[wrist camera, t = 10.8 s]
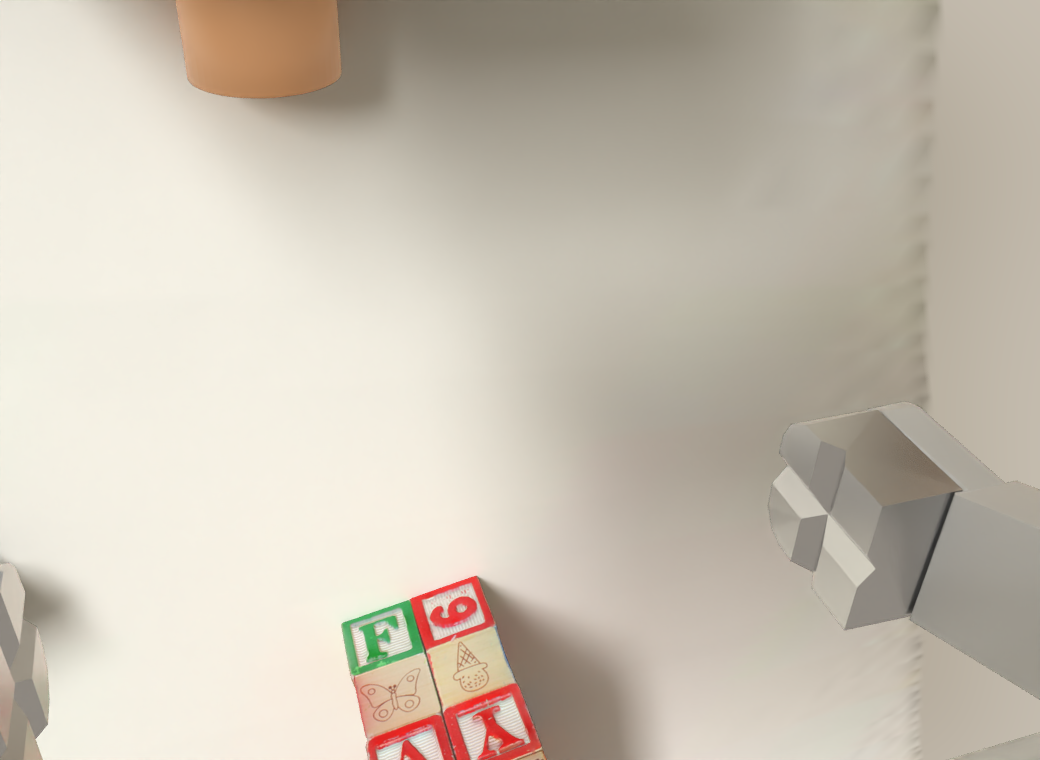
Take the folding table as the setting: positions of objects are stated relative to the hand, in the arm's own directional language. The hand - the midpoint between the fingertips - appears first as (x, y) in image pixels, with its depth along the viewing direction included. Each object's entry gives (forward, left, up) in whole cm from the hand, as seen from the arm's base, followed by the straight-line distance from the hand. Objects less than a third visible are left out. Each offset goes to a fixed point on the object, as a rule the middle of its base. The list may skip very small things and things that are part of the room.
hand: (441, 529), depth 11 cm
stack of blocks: (+35, +6, -22) cm, 42 cm away
